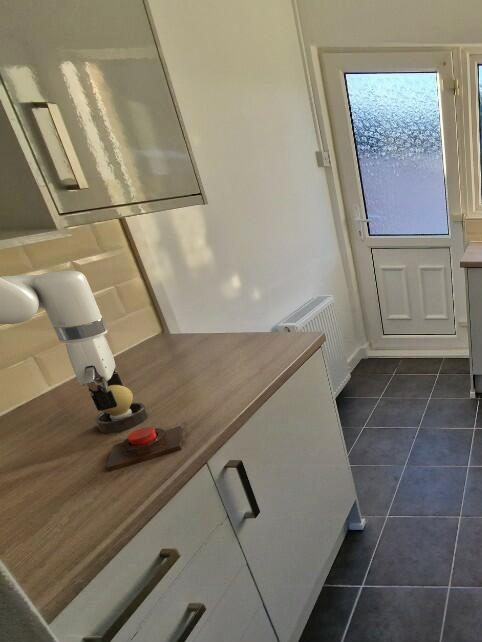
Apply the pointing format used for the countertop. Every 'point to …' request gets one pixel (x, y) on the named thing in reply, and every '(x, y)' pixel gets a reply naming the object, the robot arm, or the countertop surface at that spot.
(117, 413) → the light bulb
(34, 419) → the countertop surface
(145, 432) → the switch button
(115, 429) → the socket
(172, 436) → the switch block
